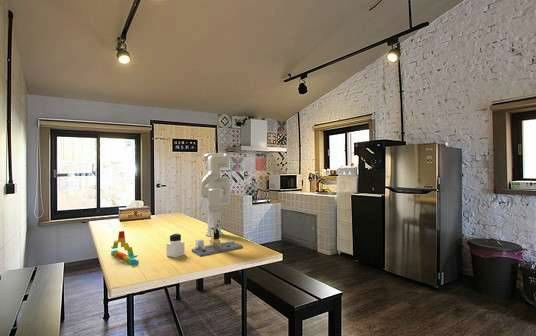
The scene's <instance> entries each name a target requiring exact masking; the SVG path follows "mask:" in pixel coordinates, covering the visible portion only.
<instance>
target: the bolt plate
mask: <svg viewBox="0 0 536 336" xmlns="http://www.w3.org/2000/svg"><path fill="white" fill-rule="evenodd" d="M243 247H244V246H243V244H240V243H238V242H235V240H232V239H231V240H226V241H223V242H221V241H220V247H219V246H218V245H212V244H210V243H209V244H205V241H204V240H203V239H196V240H195V247H194V248H192V249H191V252H192V253H193V254H195V255H196V256H199V257H204V256H209V255H215V254H218V253H219V254H220V253H224V252H229V251H234V250H238V249H243Z"/></svg>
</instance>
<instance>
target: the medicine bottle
mask: <svg viewBox="0 0 536 336" xmlns="http://www.w3.org/2000/svg"><path fill="white" fill-rule="evenodd" d="M165 249H166V257H171V258H178V257H181V256H184V255H185V253H186V252H185V242H183V241H182V235H181V233H172V234H170V235H169V242H167V243H166V248H165Z"/></svg>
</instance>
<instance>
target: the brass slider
mask: <svg viewBox="0 0 536 336" xmlns="http://www.w3.org/2000/svg"><path fill="white" fill-rule="evenodd" d="M217 229H218V228H217ZM214 233H215V231H214V228H213V229H211V236H210V239H209V245H210V244H212V245H218V246H219V247H220V243H221V240H220V238H219V239H216V240H215V239H214Z"/></svg>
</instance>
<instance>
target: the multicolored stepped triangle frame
mask: <svg viewBox="0 0 536 336" xmlns="http://www.w3.org/2000/svg"><path fill="white" fill-rule="evenodd" d="M125 235H126V234H125V231H124V230H121V231H118V238H117V240H114V241H113V246H111V247H110V248H111V249H112V250H110V252H111V253H110V254H111V255H113V256H115V257H117V258H119V259H120V260H122V261H124V262H126V263H128V264H129V265H133V266H135V265H138V264H139V259H136V258H137V257H138V256H139V254H138V255H135V254H134V251H133V247H132V246H130V245H129V243H128V242H126V236H125ZM119 243H120V247H121V248H123V249H124V251H126V252H127V254H126V253H124V252H123V251H120V250H117V249H118V247H119Z"/></svg>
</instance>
